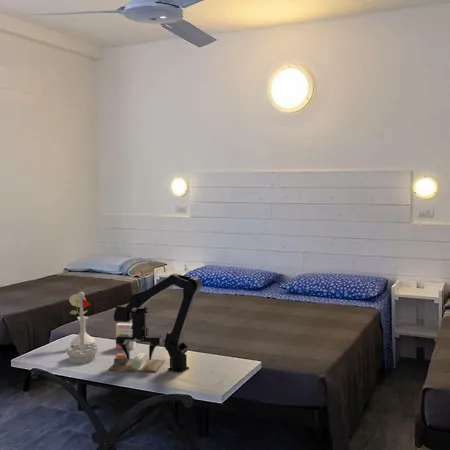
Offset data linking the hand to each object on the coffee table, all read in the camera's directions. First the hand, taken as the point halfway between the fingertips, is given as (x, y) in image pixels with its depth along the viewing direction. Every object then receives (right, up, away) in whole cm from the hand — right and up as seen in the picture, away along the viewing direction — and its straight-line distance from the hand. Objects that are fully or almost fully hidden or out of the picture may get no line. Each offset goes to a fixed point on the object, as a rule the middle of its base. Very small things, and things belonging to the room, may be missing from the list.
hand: (139, 359), depth 237 cm
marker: (0, -2, 0) cm, 2 cm away
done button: (-8, 0, +1) cm, 8 cm away
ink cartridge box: (-11, -2, +29) cm, 31 cm away
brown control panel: (-1, -3, 0) cm, 3 cm away
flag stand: (-27, -3, +11) cm, 29 cm away
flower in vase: (-33, -2, +33) cm, 46 cm away
